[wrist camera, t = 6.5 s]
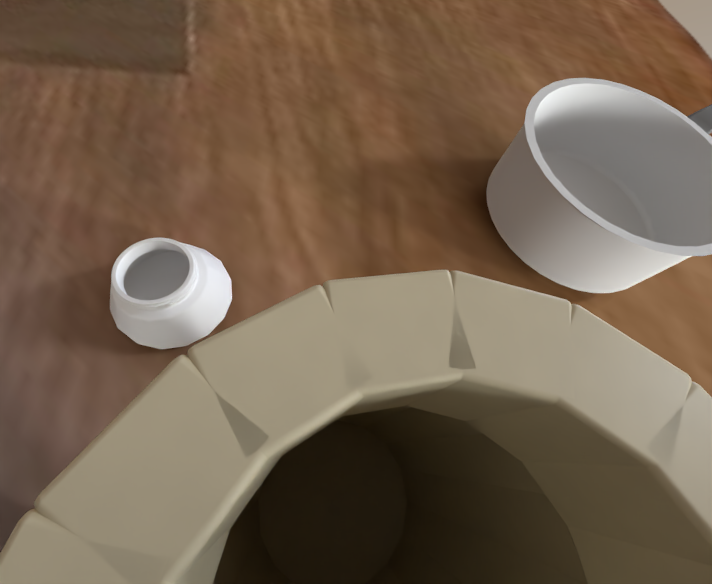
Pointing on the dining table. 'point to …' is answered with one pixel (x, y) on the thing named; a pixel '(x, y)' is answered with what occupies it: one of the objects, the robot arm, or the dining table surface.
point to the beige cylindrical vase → (392, 452)
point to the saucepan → (604, 185)
